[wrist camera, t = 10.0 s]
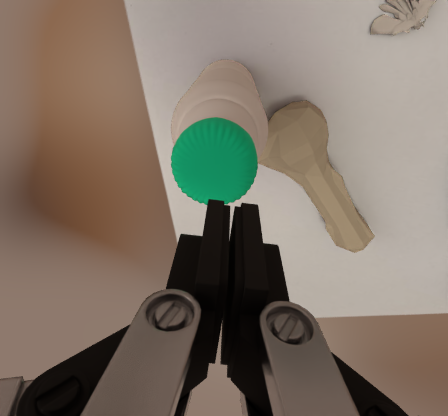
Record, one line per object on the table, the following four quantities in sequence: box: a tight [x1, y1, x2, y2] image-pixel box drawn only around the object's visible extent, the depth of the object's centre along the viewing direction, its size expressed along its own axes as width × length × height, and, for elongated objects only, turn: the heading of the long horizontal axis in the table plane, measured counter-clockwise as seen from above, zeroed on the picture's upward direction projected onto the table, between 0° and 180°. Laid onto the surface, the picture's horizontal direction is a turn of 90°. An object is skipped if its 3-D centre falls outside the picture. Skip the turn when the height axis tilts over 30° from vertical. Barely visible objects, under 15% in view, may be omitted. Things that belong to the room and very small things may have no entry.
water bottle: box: [171, 60, 268, 205], centre depth 27 cm, size 7×7×25 cm
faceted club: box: [258, 100, 374, 253], centre depth 40 cm, size 9×8×25 cm
